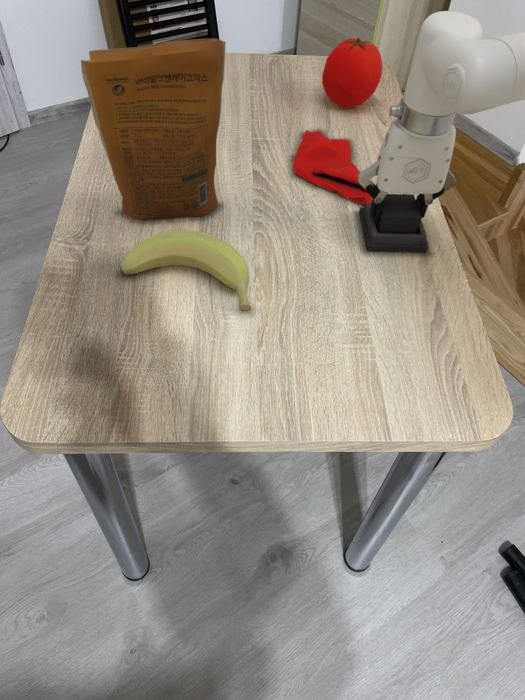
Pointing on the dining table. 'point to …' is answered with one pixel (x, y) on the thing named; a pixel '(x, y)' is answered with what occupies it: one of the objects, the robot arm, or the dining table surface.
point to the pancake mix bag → (160, 123)
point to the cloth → (329, 166)
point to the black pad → (399, 214)
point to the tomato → (352, 72)
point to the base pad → (390, 236)
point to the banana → (191, 258)
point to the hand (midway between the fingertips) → (395, 218)
